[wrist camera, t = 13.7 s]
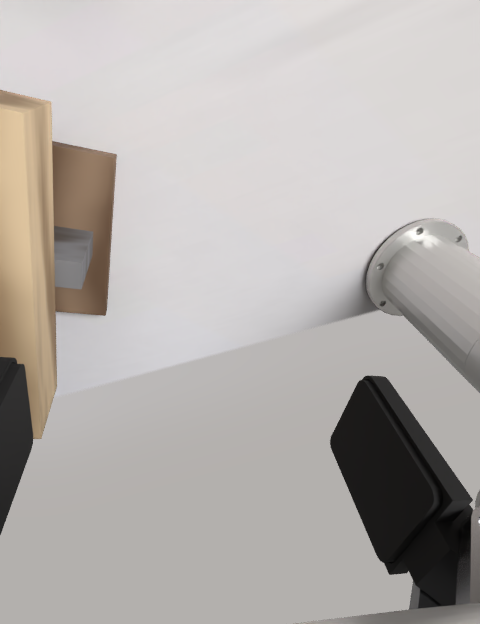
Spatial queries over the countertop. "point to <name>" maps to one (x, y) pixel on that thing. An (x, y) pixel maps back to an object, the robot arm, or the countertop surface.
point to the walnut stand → (82, 227)
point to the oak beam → (28, 248)
